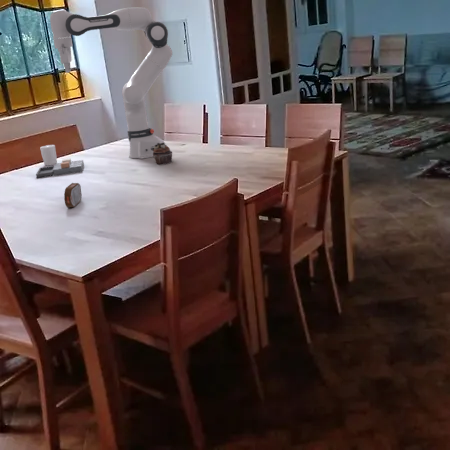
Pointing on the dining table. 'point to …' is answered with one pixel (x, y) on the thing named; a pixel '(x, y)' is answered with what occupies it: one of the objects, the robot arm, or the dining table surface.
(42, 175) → the box
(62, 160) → the tile cream
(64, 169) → the far plate
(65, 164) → the tile terracotta
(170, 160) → the cupcake
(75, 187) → the tin
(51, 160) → the white cup
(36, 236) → the dining table surface
